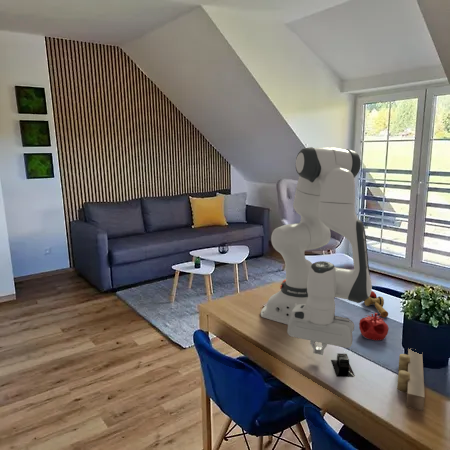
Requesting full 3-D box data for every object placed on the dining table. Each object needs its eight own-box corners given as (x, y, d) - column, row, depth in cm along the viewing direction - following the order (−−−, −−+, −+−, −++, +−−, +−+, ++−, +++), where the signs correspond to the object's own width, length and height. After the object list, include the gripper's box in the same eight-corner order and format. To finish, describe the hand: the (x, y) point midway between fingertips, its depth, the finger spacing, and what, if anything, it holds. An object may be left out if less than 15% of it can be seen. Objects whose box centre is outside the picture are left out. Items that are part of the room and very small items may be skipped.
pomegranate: (362, 328, 149) (364, 305, 147) (390, 335, 143) (392, 311, 141) (355, 338, 141) (356, 314, 139) (384, 345, 135) (386, 320, 133)
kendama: (395, 320, 158) (375, 297, 175) (394, 307, 156) (375, 285, 173) (376, 323, 158) (359, 301, 175) (375, 310, 156) (358, 288, 173)
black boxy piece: (327, 359, 128) (328, 346, 127) (349, 360, 128) (350, 346, 127) (335, 380, 116) (335, 366, 115) (360, 381, 115) (361, 367, 114)
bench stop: (396, 404, 104) (397, 387, 103) (398, 357, 127) (400, 343, 126) (423, 411, 102) (425, 393, 101) (420, 362, 125) (422, 347, 124)
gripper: (356, 315, 121) (353, 356, 124) (292, 304, 130) (290, 342, 132) (353, 323, 115) (350, 365, 118) (286, 311, 124) (285, 351, 127)
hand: (318, 353), depth 125 cm, fingers closed
